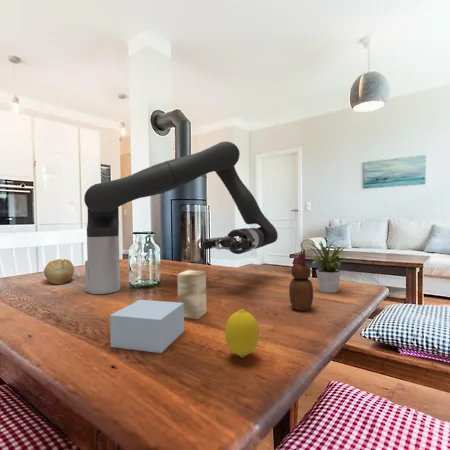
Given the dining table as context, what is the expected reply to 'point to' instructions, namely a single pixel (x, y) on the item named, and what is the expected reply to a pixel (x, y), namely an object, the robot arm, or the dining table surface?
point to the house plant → (328, 268)
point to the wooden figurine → (301, 285)
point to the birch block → (192, 293)
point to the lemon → (242, 333)
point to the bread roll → (59, 271)
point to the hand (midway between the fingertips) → (216, 246)
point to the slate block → (147, 325)
